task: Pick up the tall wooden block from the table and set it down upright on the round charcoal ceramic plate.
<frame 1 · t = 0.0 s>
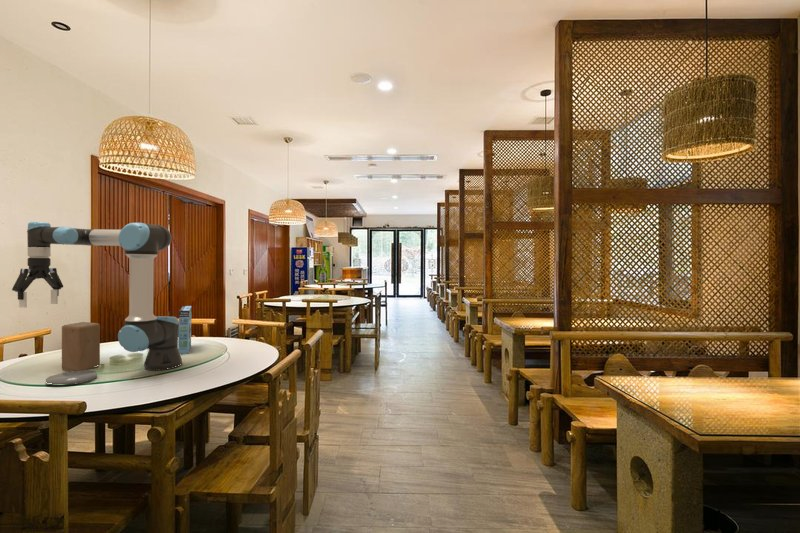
hand: (39, 305, 176), 28 cm above the table, tool pointing down, fingers open, 13 cm apart
wooden block: (81, 369, 178), on the table
charcoal plate: (72, 380, 161), on the table
gum box: (185, 350, 215), on the table
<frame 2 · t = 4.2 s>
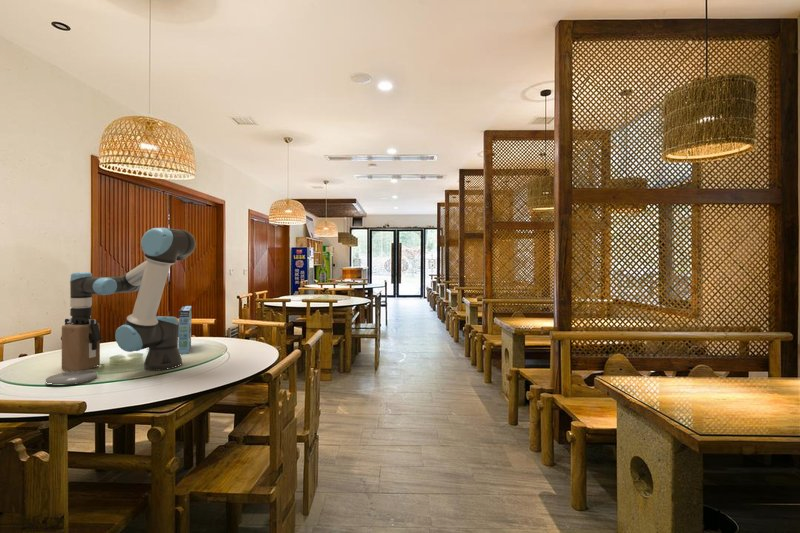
hand: (81, 356, 178), 5 cm above the table, tool pointing down, fingers closed on wooden block, 10 cm apart
wooden block: (81, 369, 178), on the table, touching gripper
everything else where it was.
when the fingers open (8 cm above the table, at t = 11.8 s): wooden block stays where it is, resting on charcoal plate.
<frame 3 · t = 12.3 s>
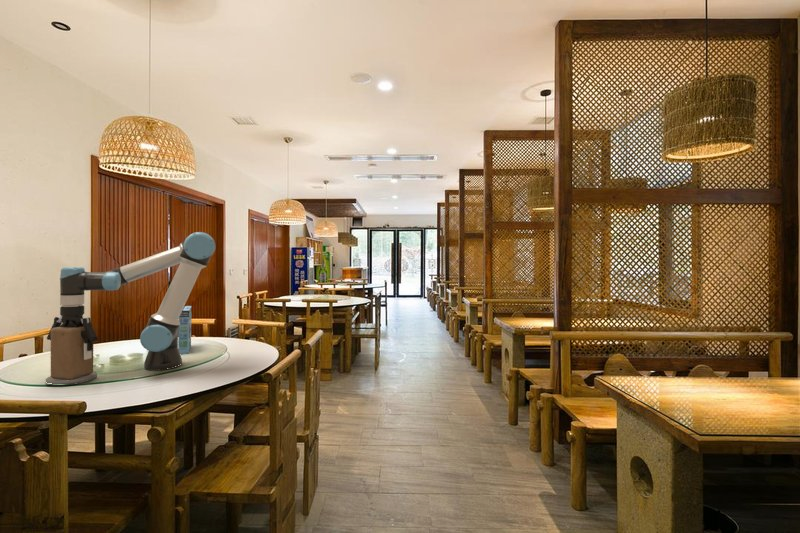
hand: (72, 358, 160), 9 cm above the table, tool pointing down, fingers open, 13 cm apart
wooden block: (72, 376, 160), point 2 cm above the table, touching charcoal plate
everything else where it was.
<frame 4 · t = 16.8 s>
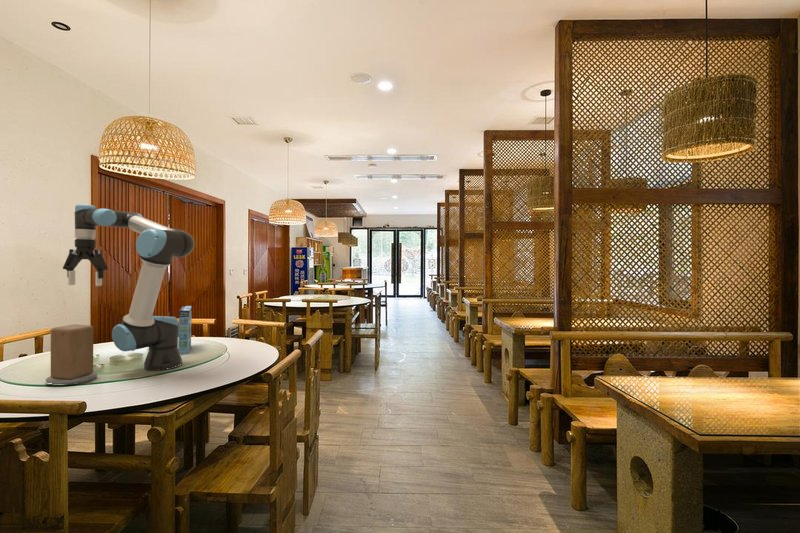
hand: (85, 285, 182), 37 cm above the table, tool pointing down, fingers open, 13 cm apart
nothing on the table moved.
at the end: wooden block inside the target area on the charcoal plate (0.1 cm from its centre), point 1.8 cm above the charcoal plate's base; wooden block tilted 0°; the gripper is holding nothing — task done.
